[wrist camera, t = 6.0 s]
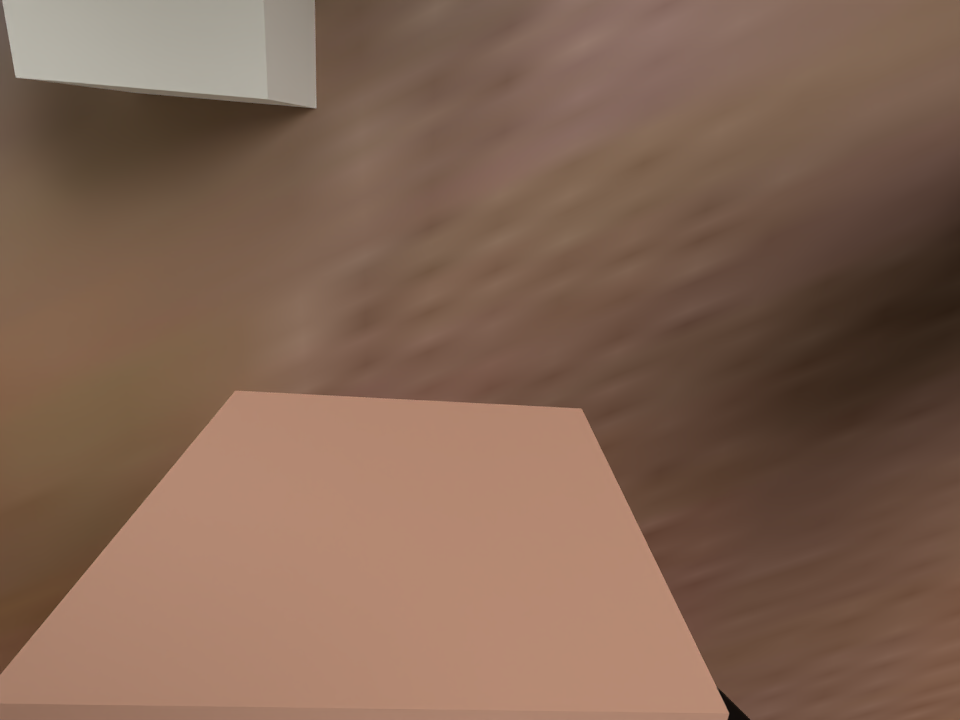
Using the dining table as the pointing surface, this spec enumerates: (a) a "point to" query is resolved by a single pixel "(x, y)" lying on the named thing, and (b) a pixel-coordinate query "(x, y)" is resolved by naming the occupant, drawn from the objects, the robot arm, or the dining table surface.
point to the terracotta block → (372, 579)
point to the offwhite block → (170, 47)
